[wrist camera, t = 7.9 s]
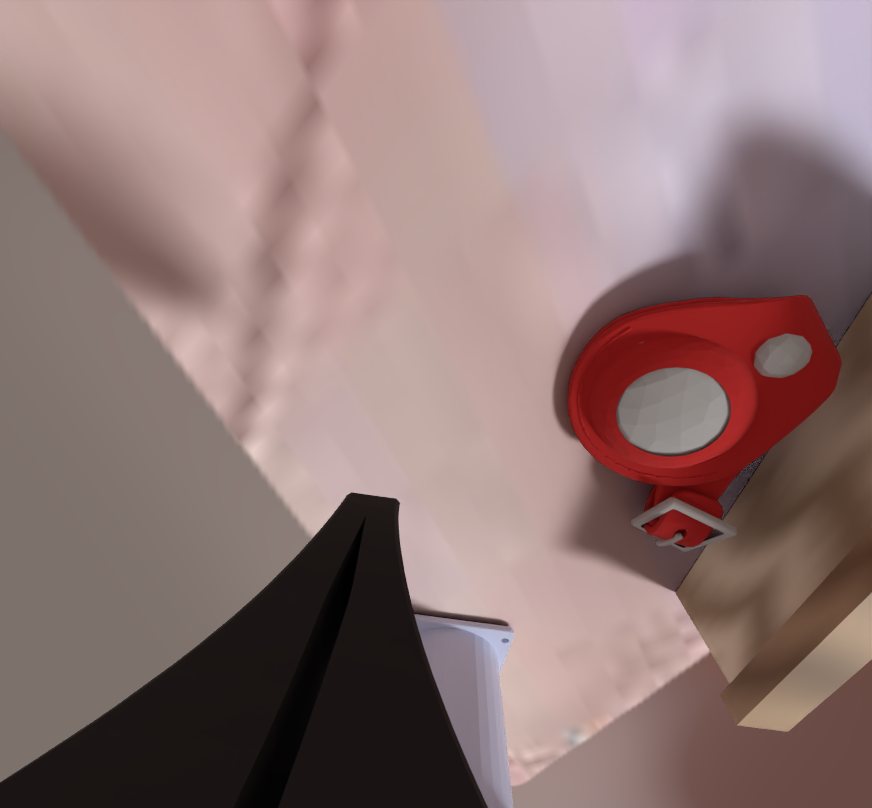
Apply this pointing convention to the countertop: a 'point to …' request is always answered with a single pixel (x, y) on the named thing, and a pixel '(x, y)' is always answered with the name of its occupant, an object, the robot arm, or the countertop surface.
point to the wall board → (797, 559)
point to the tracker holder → (698, 400)
